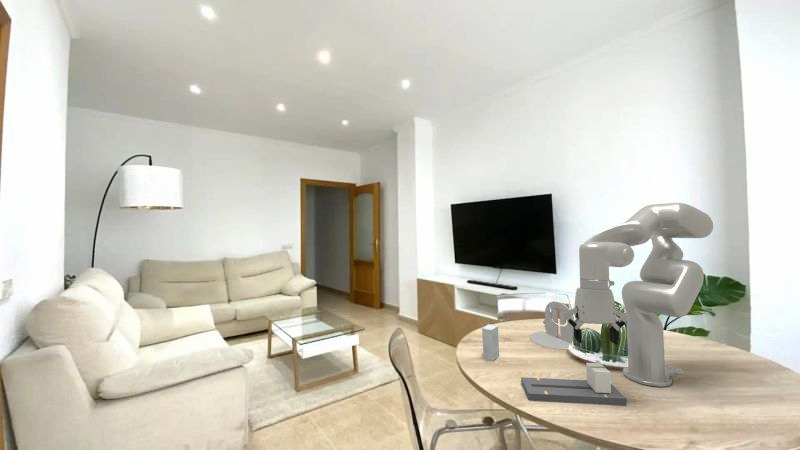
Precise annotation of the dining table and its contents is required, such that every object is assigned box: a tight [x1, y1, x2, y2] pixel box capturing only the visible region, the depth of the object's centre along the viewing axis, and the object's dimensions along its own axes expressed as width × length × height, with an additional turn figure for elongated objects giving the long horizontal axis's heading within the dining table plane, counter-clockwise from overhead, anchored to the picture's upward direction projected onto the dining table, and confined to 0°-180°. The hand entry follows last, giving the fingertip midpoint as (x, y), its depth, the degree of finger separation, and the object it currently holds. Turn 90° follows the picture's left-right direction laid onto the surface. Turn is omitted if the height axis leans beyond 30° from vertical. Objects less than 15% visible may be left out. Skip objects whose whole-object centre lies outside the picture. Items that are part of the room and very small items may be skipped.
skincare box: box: [481, 323, 500, 362], centre depth 122 cm, size 6×4×12 cm
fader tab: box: [585, 362, 612, 393], centre depth 93 cm, size 4×6×6 cm
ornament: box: [529, 301, 575, 351], centre depth 137 cm, size 22×13×17 cm, turn 18°
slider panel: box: [520, 376, 628, 407], centre depth 94 cm, size 26×10×2 cm, turn 81°
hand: (595, 342), depth 93 cm, fingers open, 9 cm apart
